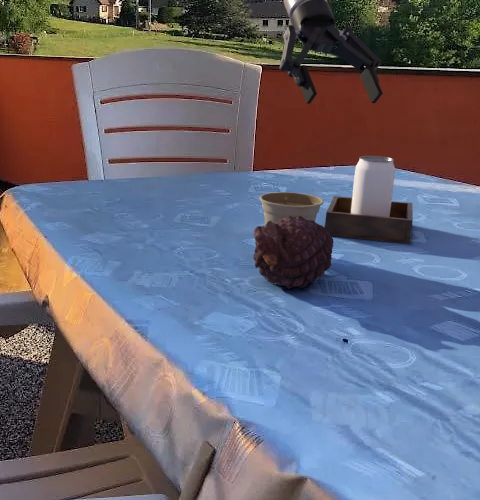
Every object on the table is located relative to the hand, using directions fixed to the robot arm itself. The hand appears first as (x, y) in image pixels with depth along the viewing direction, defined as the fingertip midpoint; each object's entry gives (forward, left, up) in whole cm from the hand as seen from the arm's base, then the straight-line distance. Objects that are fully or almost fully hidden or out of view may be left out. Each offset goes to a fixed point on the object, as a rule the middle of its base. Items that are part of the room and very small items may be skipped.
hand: (345, 98), depth 127 cm
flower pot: (+4, +28, -22) cm, 36 cm away
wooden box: (-7, +8, -22) cm, 24 cm away
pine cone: (+1, +41, -22) cm, 47 cm away
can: (-7, +8, -21) cm, 24 cm away
